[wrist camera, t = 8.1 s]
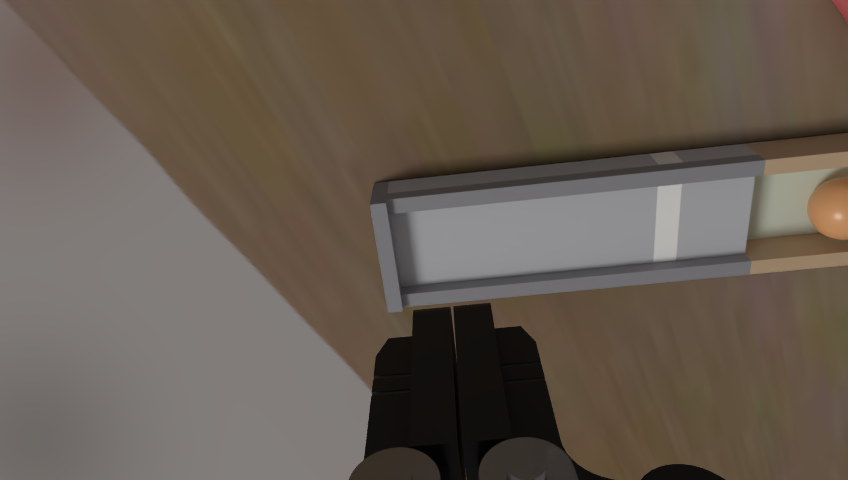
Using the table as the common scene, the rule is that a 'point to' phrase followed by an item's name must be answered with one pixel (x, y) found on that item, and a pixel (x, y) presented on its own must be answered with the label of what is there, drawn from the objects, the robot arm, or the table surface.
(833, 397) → the table surface
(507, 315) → the table surface
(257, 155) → the table surface
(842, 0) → the ink cartridge box
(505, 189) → the lane
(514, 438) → the robot arm
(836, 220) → the ball
